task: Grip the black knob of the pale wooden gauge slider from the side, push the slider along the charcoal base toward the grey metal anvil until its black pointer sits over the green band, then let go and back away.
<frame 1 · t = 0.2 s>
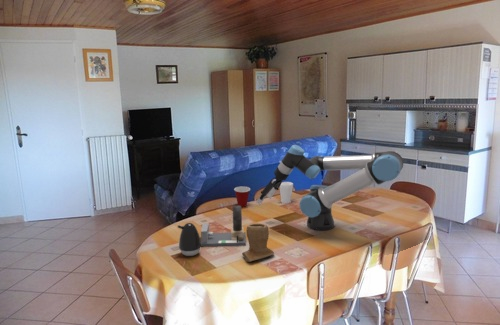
hand: (263, 200, 209), 15 cm above the table, tool tilted 35°, fingers open, 13 cm apart
plastic cup: (242, 206, 250), on the table
gauge base: (226, 240, 192), on the table
foam cup: (286, 202, 257), on the table
pump dispenser: (190, 254, 177), on the table
gauge slider: (237, 223, 188), point 10 cm above the table, slide at 0.0 cm
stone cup: (256, 256, 173), on the table
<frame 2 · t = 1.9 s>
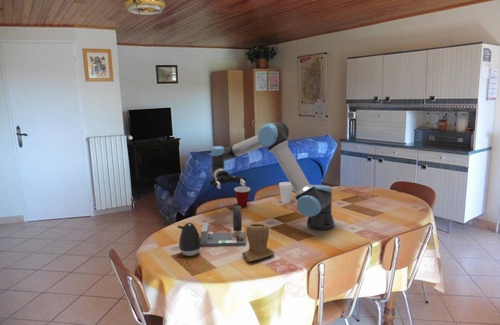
hand: (232, 185, 196), 27 cm above the table, tool horizontal, fingers open, 13 cm apart
nothing on the table moved.
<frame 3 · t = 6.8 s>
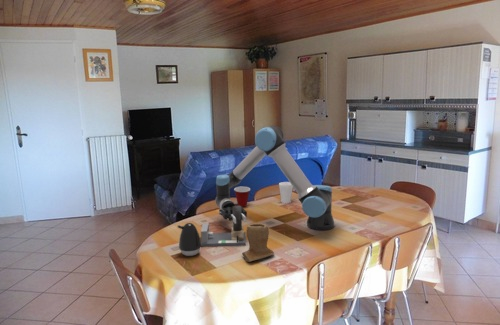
hand: (240, 220, 184), 12 cm above the table, tool horizontal, fingers closed on gauge slider, 4 cm apart
gauge slider: (237, 223, 188), point 10 cm above the table, slide at 0.0 cm, touching gripper
everything else where it was.
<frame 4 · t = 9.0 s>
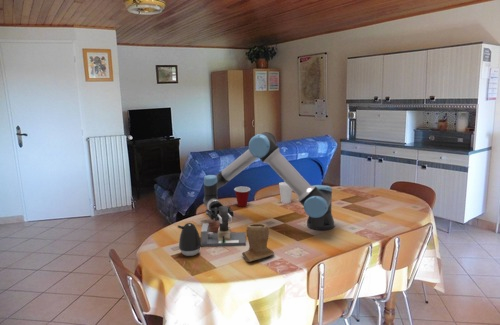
hand: (226, 220, 184), 13 cm above the table, tool horizontal, fingers closed on gauge slider, 4 cm apart
gauge slider: (223, 223, 188), point 10 cm above the table, slide at 6.8 cm, touching gauge base, gripper
everything else where it was.
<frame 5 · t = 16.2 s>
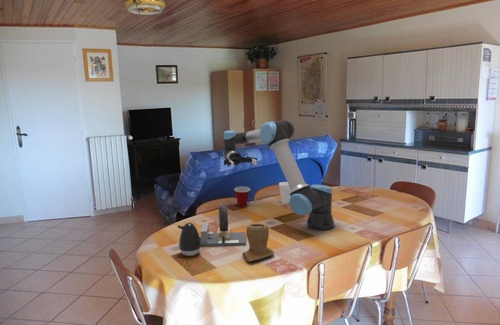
hand: (244, 163, 210), 35 cm above the table, tool horizontal, fingers open, 13 cm apart
gauge slider: (223, 223, 188), point 10 cm above the table, slide at 6.9 cm
everything else where it was.
at the end: gauge slider slide at 6.9 cm; the gripper is holding nothing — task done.
